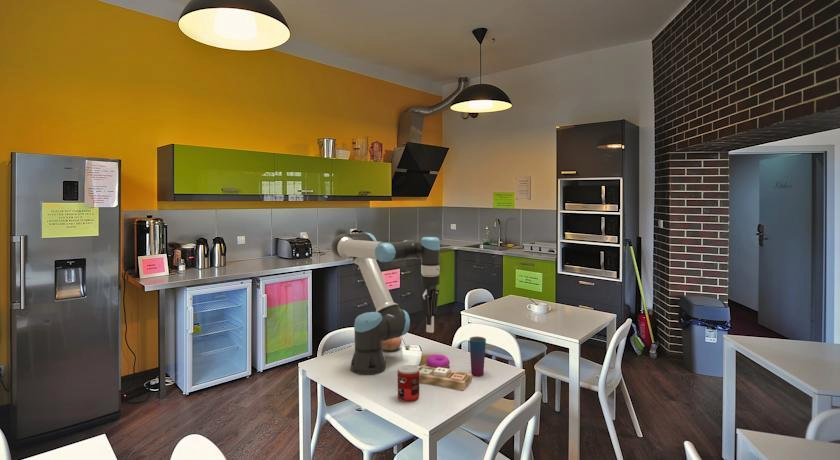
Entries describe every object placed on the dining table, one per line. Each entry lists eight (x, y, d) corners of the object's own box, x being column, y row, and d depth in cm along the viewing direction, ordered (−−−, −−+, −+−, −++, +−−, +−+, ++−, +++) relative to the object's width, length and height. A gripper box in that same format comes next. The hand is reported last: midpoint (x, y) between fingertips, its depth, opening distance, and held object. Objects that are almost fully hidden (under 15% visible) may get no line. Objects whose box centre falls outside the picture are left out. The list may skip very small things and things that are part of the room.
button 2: (433, 376, 179) (433, 370, 178) (438, 372, 183) (438, 366, 183) (445, 378, 176) (445, 372, 176) (449, 374, 181) (449, 368, 181)
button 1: (417, 377, 181) (417, 371, 181) (422, 373, 186) (422, 367, 186) (428, 379, 179) (428, 373, 179) (433, 374, 184) (433, 369, 184)
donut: (437, 373, 189) (437, 362, 189) (421, 366, 196) (421, 356, 196) (454, 366, 196) (454, 356, 196) (438, 360, 203) (438, 351, 203)
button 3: (449, 383, 176) (449, 377, 176) (454, 378, 180) (454, 372, 180) (462, 385, 174) (462, 379, 174) (466, 380, 178) (466, 374, 178)
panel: (411, 381, 180) (411, 373, 180) (421, 372, 189) (421, 365, 189) (463, 390, 171) (463, 382, 171) (471, 381, 180) (471, 373, 180)
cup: (485, 377, 183) (485, 341, 182) (468, 376, 185) (468, 340, 184) (486, 371, 190) (486, 336, 189) (470, 370, 191) (470, 336, 190)
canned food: (397, 393, 168) (397, 364, 168) (418, 392, 169) (418, 364, 168) (398, 402, 161) (397, 372, 160) (420, 401, 161) (420, 371, 161)
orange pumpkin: (401, 352, 213) (401, 336, 213) (378, 353, 213) (378, 336, 213) (401, 345, 224) (401, 330, 224) (380, 345, 224) (380, 330, 224)
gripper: (431, 278, 175) (431, 337, 177) (445, 273, 187) (444, 329, 188) (414, 276, 178) (414, 334, 180) (428, 272, 190) (428, 326, 192)
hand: (430, 331), depth 184 cm, fingers closed
